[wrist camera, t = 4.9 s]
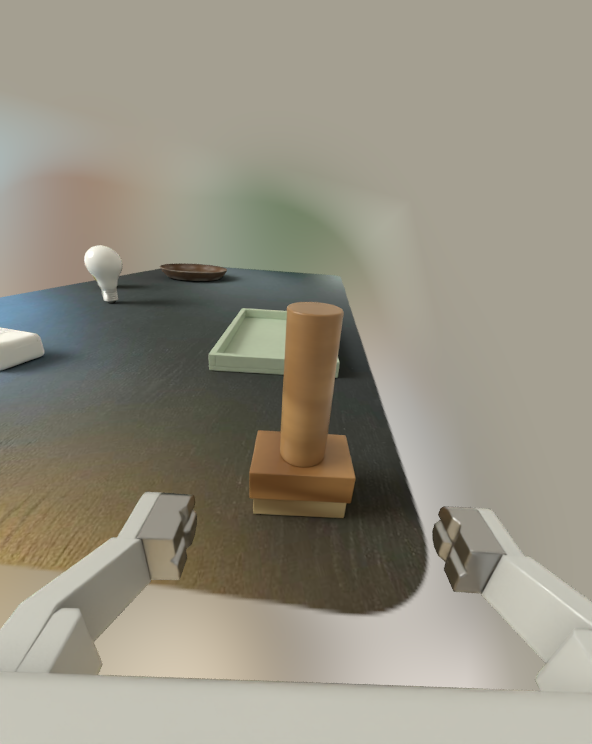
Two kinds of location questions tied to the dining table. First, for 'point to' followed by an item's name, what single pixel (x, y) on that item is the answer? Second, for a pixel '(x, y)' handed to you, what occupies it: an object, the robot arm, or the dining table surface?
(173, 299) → the dining table surface
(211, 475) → the dining table surface
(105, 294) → the lightbulb
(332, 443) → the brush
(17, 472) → the dining table surface
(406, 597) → the dining table surface
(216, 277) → the plant saucer
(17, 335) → the soap
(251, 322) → the tray
